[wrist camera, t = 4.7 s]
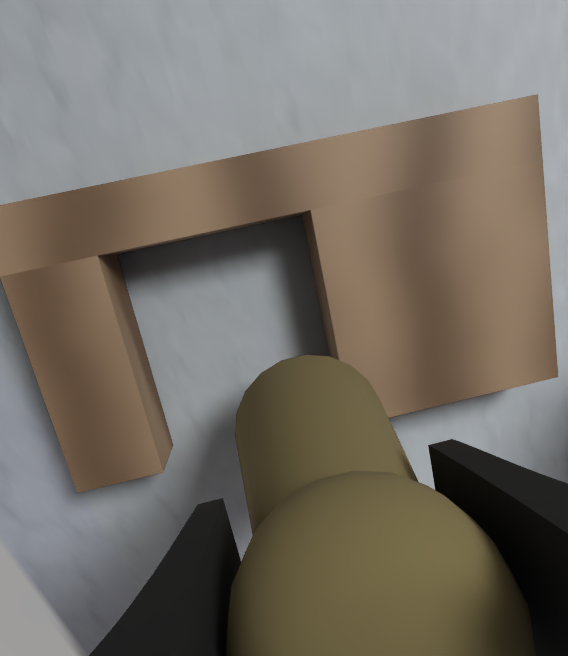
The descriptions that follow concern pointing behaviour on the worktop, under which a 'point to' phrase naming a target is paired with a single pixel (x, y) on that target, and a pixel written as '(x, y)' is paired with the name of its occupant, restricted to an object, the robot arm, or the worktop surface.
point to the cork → (356, 534)
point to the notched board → (327, 262)
